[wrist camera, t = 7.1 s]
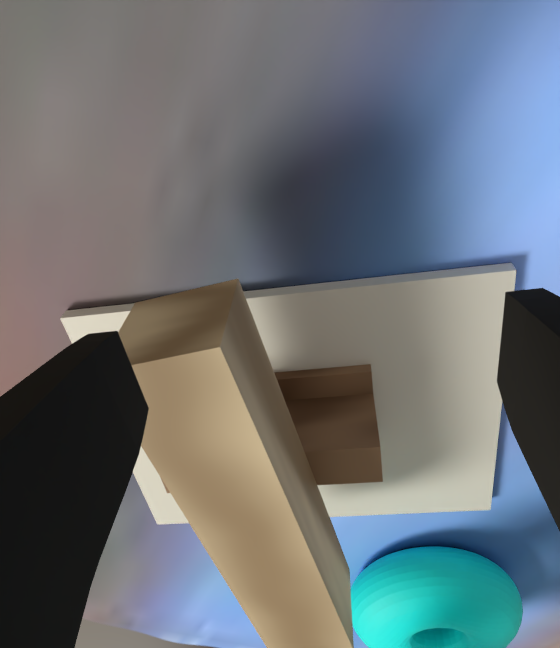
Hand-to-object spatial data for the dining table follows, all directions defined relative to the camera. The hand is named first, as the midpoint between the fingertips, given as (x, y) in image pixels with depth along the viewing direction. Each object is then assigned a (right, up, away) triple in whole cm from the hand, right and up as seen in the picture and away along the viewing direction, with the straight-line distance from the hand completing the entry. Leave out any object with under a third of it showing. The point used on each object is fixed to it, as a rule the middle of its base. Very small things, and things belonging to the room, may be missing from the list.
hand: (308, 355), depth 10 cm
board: (0, -4, +14) cm, 15 cm away
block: (-1, -3, +14) cm, 14 cm away
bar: (-1, -5, +10) cm, 11 cm away
